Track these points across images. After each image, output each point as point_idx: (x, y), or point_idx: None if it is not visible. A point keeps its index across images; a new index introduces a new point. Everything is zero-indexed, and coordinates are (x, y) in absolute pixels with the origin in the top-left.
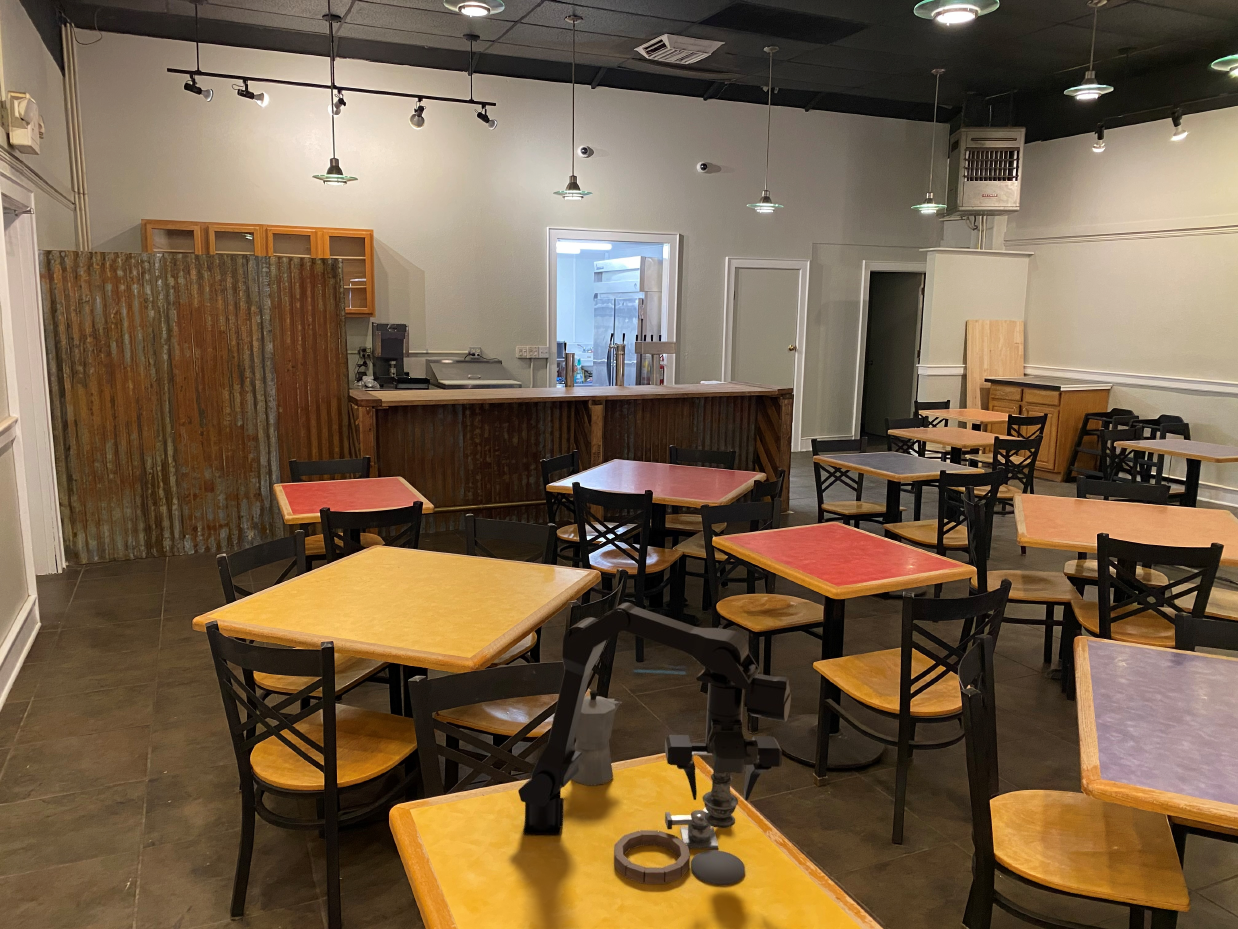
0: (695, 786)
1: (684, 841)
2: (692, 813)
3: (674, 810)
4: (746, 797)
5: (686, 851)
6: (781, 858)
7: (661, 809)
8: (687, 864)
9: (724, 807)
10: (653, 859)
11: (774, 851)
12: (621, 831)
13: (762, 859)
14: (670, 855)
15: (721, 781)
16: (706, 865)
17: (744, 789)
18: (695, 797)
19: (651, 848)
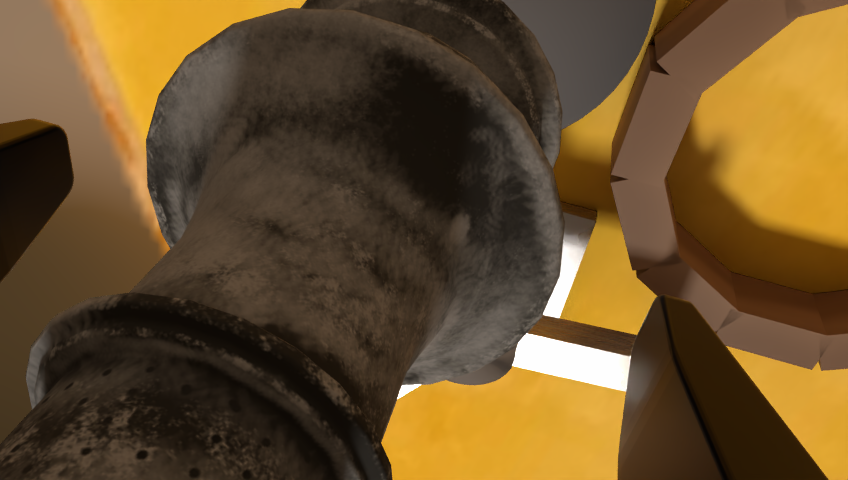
0: (720, 441)
1: (578, 250)
2: (500, 368)
3: (513, 454)
4: (15, 132)
5: (648, 122)
6: (118, 6)
7: (566, 476)
8: (682, 26)
9: (342, 35)
10: (822, 169)
11: (145, 73)
12: (845, 414)
13: (215, 21)
14: (700, 178)
15: (221, 356)
16: (552, 10)
17: (1, 244)
18: (678, 314)
19: (772, 259)
